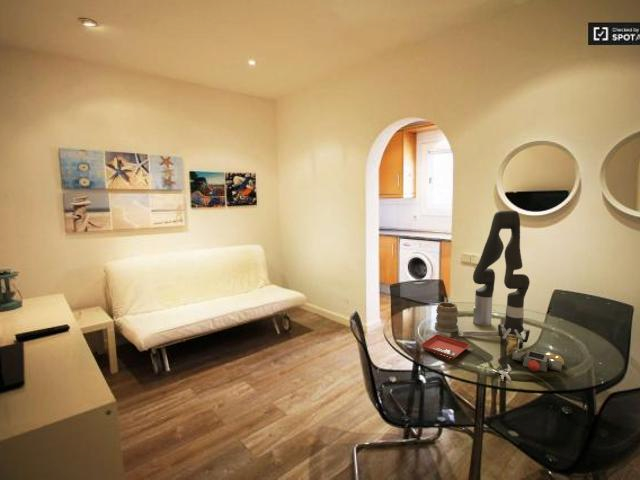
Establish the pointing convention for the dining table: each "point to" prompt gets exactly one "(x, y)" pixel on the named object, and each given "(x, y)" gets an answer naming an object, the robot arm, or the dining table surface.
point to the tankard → (446, 317)
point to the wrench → (481, 333)
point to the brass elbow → (555, 357)
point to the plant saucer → (445, 345)
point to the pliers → (504, 373)
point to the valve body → (536, 360)
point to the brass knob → (512, 343)
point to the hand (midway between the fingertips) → (512, 347)
